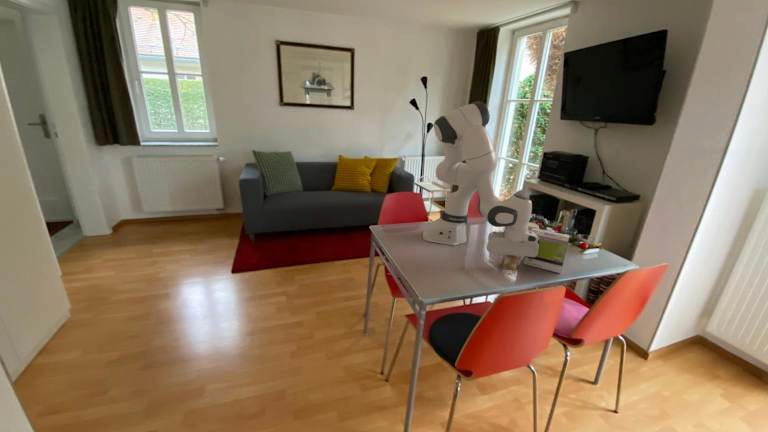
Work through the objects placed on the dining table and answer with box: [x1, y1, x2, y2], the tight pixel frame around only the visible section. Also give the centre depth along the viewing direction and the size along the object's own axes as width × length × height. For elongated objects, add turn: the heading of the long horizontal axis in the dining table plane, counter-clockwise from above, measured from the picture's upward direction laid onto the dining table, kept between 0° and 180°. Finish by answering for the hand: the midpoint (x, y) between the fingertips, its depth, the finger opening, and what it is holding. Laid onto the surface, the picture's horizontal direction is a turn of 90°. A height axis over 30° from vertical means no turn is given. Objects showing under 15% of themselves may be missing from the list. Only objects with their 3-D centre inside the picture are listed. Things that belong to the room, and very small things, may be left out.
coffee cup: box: [528, 221, 540, 231], centre depth 157 cm, size 9×8×12 cm
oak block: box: [500, 254, 518, 271], centre depth 136 cm, size 5×5×5 cm
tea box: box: [523, 228, 570, 274], centre depth 138 cm, size 15×10×15 cm, turn 58°
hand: (509, 263), depth 136 cm, fingers closed on oak block, 5 cm apart
